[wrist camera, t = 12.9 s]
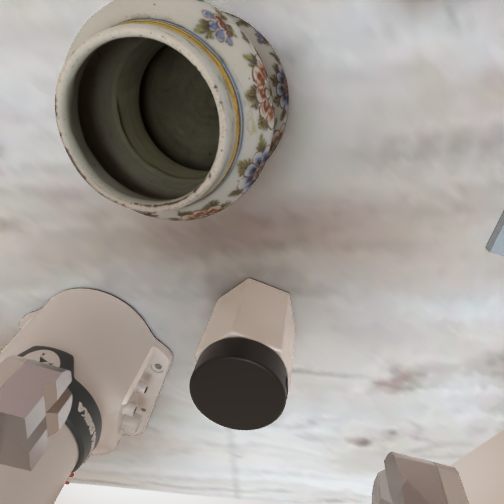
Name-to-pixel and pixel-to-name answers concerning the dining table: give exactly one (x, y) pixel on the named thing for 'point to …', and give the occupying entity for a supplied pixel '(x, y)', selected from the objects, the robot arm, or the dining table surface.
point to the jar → (245, 357)
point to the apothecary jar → (170, 106)
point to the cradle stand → (497, 238)
